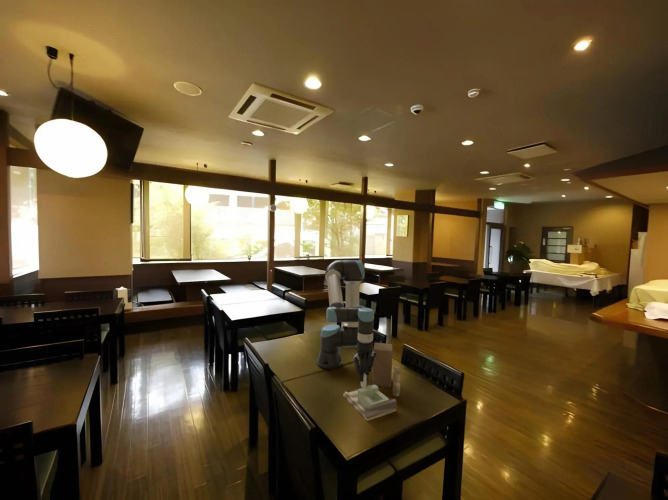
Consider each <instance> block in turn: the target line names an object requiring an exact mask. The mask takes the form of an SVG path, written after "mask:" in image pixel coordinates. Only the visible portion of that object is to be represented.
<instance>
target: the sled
mask: <svg viewBox="0 0 668 500" xmlns="http://www.w3.org/2000/svg"><path fill="white" fill-rule="evenodd" d="M357 390H358V400H357V401H358V402H359V403H360V404H361V405H362V406H363V407H364V408H365V409H366V408H367V407H370V406H373V405H377V404H380V403H383V402H386V401H389V400H390V399H389V398H388V396H386V395H385V394H384V393H382V392H381V391H380V390H379V386H376V385H372V384H371V385H370V386H368V385H367V386H366V387H364V388H362V387H361V388H358V389H357Z"/></svg>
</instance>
